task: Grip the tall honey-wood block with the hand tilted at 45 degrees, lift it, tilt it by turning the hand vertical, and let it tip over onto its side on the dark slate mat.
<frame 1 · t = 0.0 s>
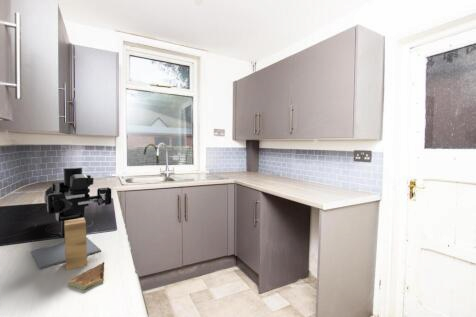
hand: (88, 203, 78), 17 cm above the counter, tool horizontal, fingers open, 9 cm apart
slate mat: (66, 251, 80), on the counter
shard: (87, 280, 64), on the counter
wood block: (76, 264, 72), on the counter
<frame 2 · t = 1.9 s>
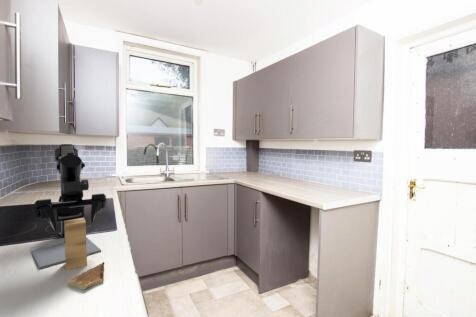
hand: (74, 227, 74), 10 cm above the counter, tool tilted 45°, fingers open, 9 cm apart
nothing on the counter moved.
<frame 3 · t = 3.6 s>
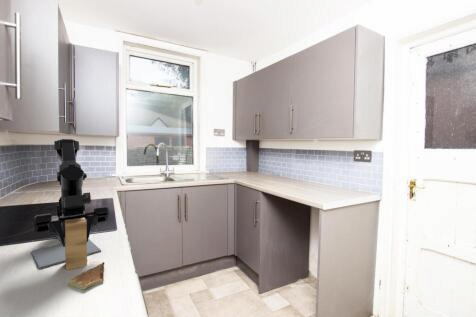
hand: (75, 243, 70), 7 cm above the counter, tool tilted 45°, fingers closed on wood block, 5 cm apart
wood block: (76, 264, 72), on the counter, touching gripper
everything else where it was.
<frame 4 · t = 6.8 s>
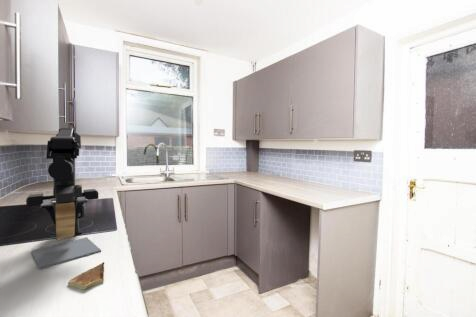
hand: (65, 222, 80), 10 cm above the counter, tool pointing down, fingers closed on wood block, 5 cm apart
wood block: (65, 231, 84), point 5 cm above the counter, tilted 42°, touching gripper
everything else where it was.
when the fingers open (8 cm above the counter, at t = 7.9 s): wood block moves 2 cm and tips over, resting on slate mat.
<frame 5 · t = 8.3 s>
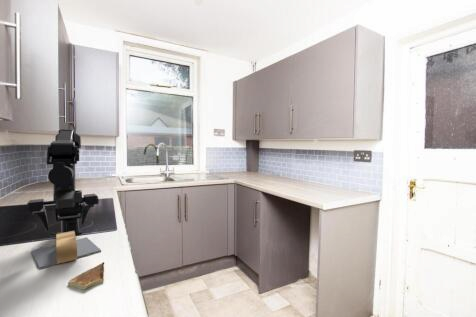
hand: (65, 228, 80), 8 cm above the counter, tool pointing down, fingers open, 9 cm apart
wood block: (65, 239, 83), point 3 cm above the counter, tilted 90°, touching slate mat
everything else where it was.
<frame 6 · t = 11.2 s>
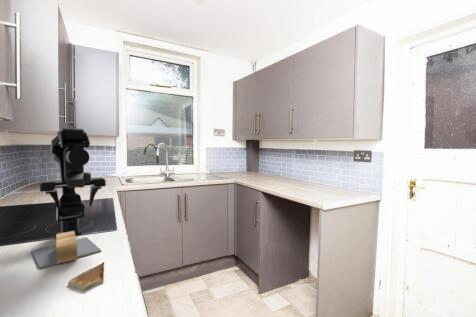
hand: (75, 208, 86), 13 cm above the counter, tool pointing down, fingers open, 9 cm apart
nothing on the counter moved.
at the end: wood block tilted 90°; wood block inside the target area (3.5 cm from its centre), point 3.0 cm above the counter; the gripper is holding nothing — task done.
